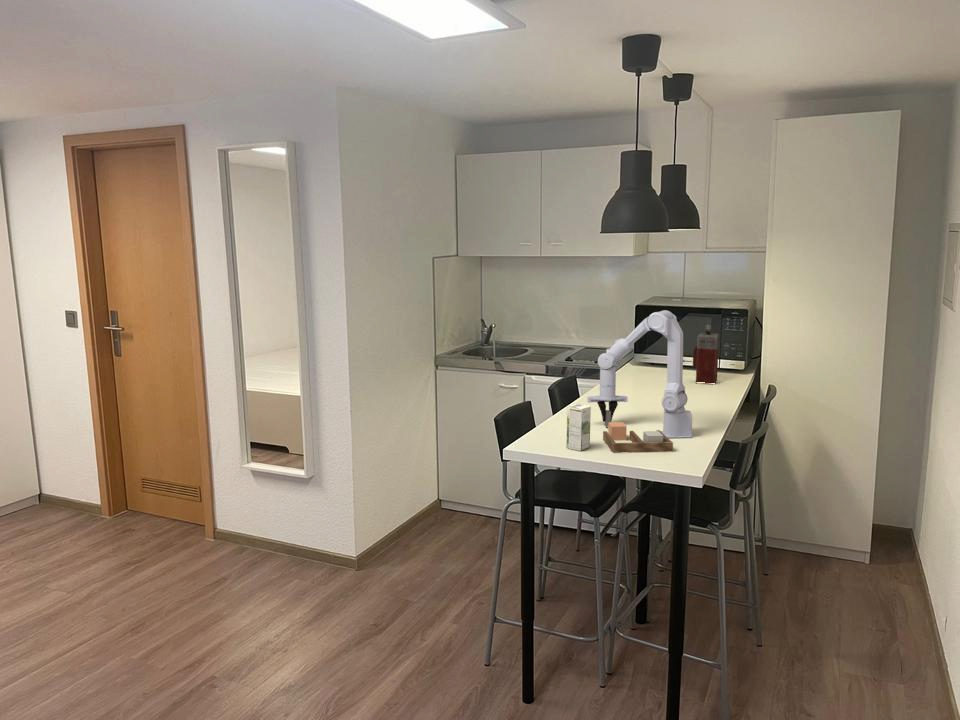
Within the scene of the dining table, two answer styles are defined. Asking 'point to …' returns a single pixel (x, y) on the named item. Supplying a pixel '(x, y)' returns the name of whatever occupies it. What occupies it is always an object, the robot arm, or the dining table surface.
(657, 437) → the grey block
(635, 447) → the wooden divided tray
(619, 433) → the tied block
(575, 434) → the syrup box
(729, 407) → the dining table surface
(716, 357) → the red liquid bottle
